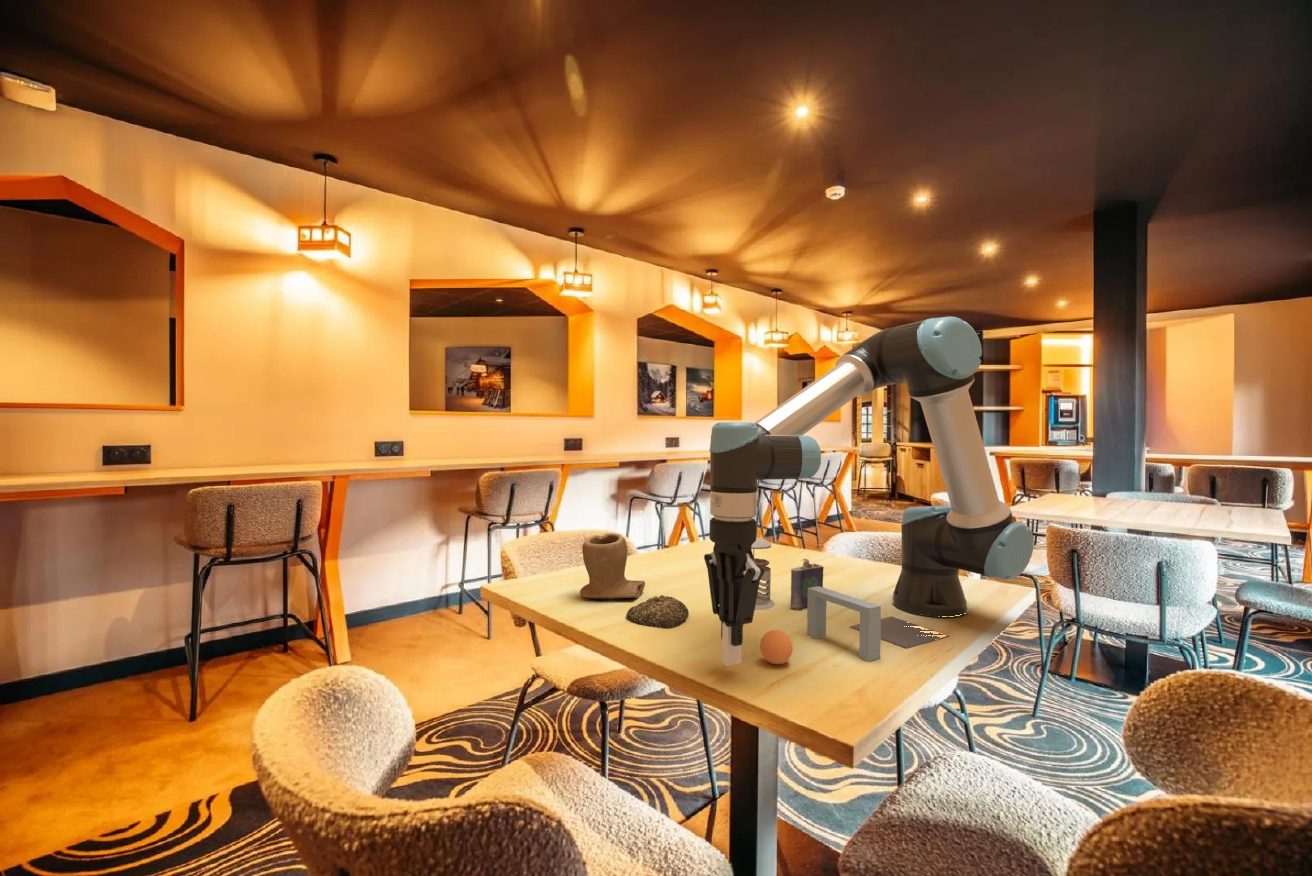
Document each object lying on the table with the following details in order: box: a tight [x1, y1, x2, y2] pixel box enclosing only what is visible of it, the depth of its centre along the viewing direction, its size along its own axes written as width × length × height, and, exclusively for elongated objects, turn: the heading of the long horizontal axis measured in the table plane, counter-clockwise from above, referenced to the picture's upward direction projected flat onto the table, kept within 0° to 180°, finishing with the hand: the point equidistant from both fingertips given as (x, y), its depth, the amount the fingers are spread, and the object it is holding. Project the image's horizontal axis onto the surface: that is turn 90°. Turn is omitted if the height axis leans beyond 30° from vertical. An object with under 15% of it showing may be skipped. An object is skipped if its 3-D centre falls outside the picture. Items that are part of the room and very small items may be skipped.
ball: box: [759, 629, 794, 665], centre depth 97 cm, size 6×6×6 cm
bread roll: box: [625, 594, 690, 629], centre depth 120 cm, size 13×12×5 cm
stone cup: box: [579, 532, 646, 599], centre depth 134 cm, size 15×12×15 cm
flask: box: [790, 558, 824, 611], centre depth 129 cm, size 9×3×11 cm, turn 121°
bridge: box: [806, 586, 882, 662], centre depth 105 cm, size 3×14×9 cm, turn 30°
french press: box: [751, 495, 776, 611], centre depth 131 cm, size 10×12×25 cm
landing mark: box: [849, 616, 944, 649], centre depth 113 cm, size 13×13×1 cm
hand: (731, 662), depth 92 cm, fingers closed
